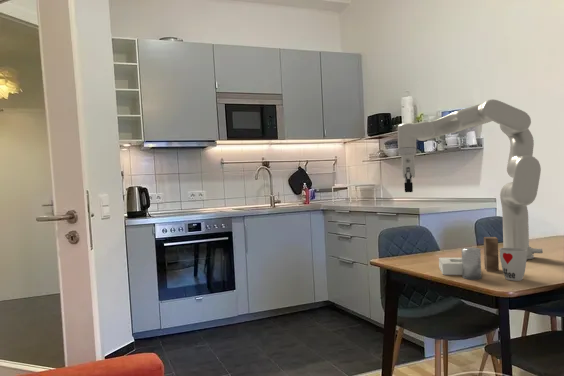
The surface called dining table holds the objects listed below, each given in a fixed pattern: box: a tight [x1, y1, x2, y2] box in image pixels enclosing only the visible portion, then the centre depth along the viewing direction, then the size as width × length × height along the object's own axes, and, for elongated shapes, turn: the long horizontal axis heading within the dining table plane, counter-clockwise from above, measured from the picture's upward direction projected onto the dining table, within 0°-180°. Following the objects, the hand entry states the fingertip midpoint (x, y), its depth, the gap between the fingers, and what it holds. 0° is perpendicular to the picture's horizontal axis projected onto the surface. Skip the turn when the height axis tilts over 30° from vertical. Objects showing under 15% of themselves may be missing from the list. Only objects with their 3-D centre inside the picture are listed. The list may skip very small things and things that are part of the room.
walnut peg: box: [483, 236, 500, 272], centre depth 160 cm, size 4×4×12 cm
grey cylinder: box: [461, 247, 482, 281], centre depth 150 cm, size 6×6×10 cm
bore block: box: [438, 257, 462, 276], centre depth 160 cm, size 12×12×4 cm
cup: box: [499, 247, 528, 282], centre depth 146 cm, size 8×8×10 cm
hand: (408, 191), depth 188 cm, fingers open, 9 cm apart
